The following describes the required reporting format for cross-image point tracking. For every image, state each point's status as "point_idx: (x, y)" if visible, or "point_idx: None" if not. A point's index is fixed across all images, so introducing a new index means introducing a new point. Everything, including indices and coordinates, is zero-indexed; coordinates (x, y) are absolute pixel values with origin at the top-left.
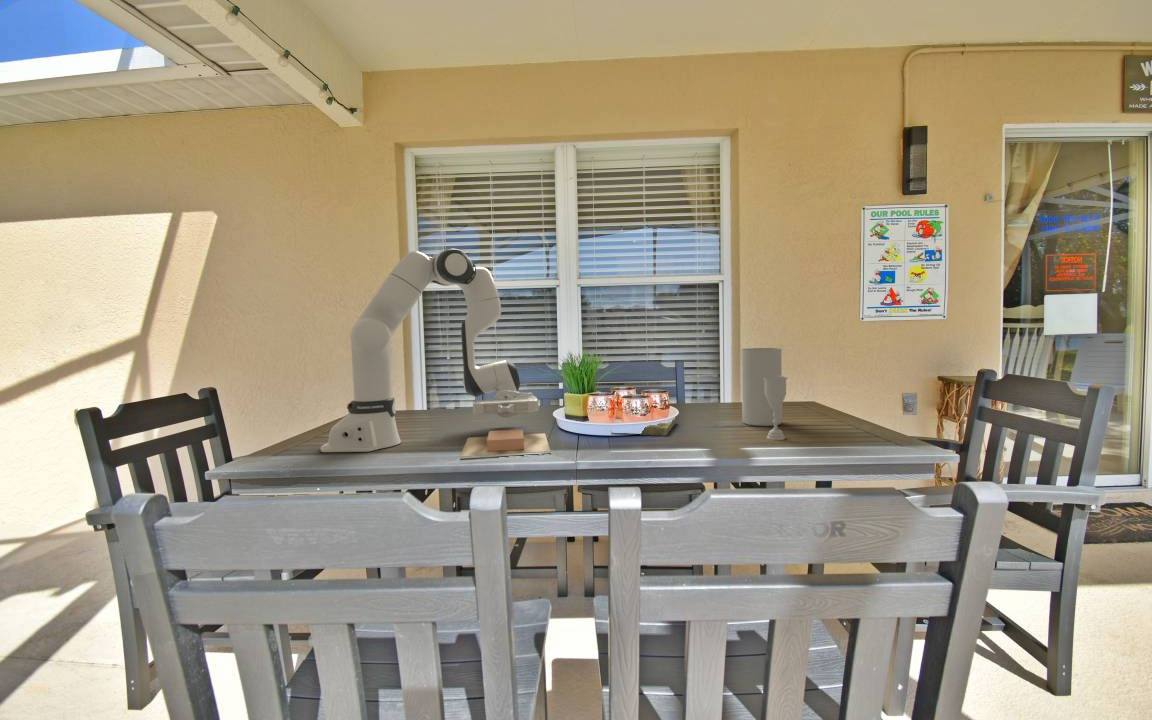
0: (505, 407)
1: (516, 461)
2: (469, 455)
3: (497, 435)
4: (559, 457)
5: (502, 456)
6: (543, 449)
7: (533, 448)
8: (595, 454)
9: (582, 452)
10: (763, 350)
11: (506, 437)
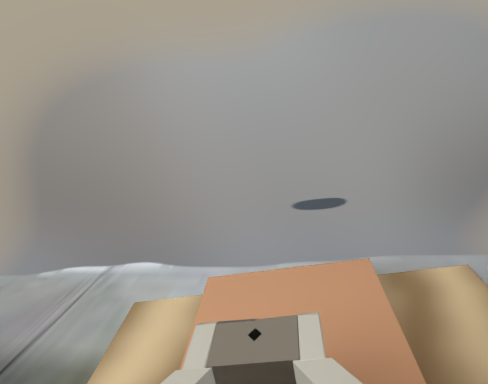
0: (255, 320)
1: (258, 269)
2: (432, 273)
3: (337, 323)
4: (127, 292)
5: None
6: (147, 318)
7: (177, 332)
8: (18, 309)
9: (30, 329)
10: None
11: (282, 289)
